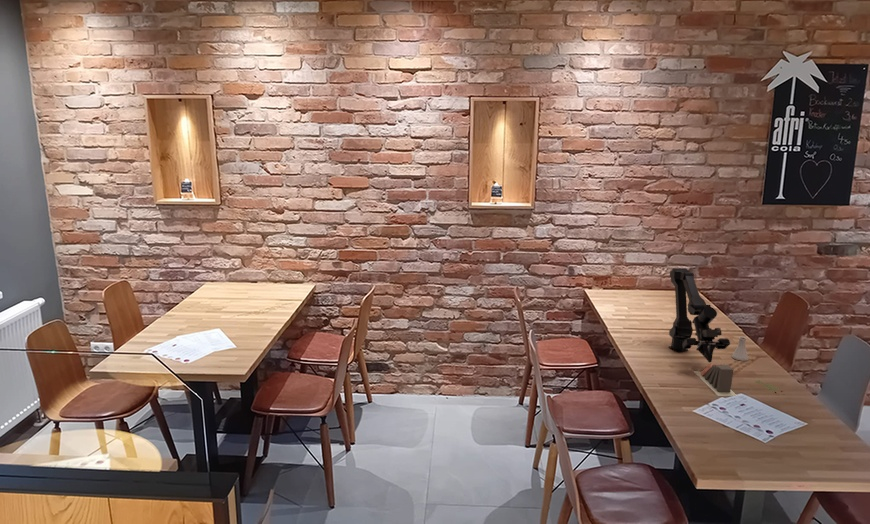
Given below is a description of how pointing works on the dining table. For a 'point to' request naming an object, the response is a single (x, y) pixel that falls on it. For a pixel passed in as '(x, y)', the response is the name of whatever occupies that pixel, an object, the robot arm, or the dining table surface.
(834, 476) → the dining table surface
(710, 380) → the domino
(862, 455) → the dining table surface
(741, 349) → the flask
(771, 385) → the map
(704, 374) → the domino
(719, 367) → the domino
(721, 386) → the domino
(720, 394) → the strip
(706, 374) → the domino
